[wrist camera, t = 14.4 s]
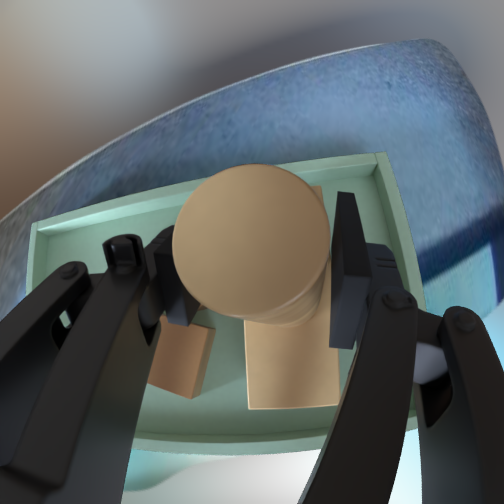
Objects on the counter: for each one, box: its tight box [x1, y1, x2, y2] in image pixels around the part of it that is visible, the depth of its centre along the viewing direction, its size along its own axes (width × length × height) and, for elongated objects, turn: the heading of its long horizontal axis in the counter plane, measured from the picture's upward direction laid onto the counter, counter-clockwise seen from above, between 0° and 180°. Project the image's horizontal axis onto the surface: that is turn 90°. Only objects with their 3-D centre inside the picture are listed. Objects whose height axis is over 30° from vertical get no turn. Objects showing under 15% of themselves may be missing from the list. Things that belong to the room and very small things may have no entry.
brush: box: [172, 164, 341, 410], centre depth 11 cm, size 4×10×12 cm, turn 3°
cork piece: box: [147, 314, 216, 400], centre depth 16 cm, size 4×4×2 cm
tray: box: [26, 152, 427, 455], centre depth 17 cm, size 26×16×2 cm, turn 96°
